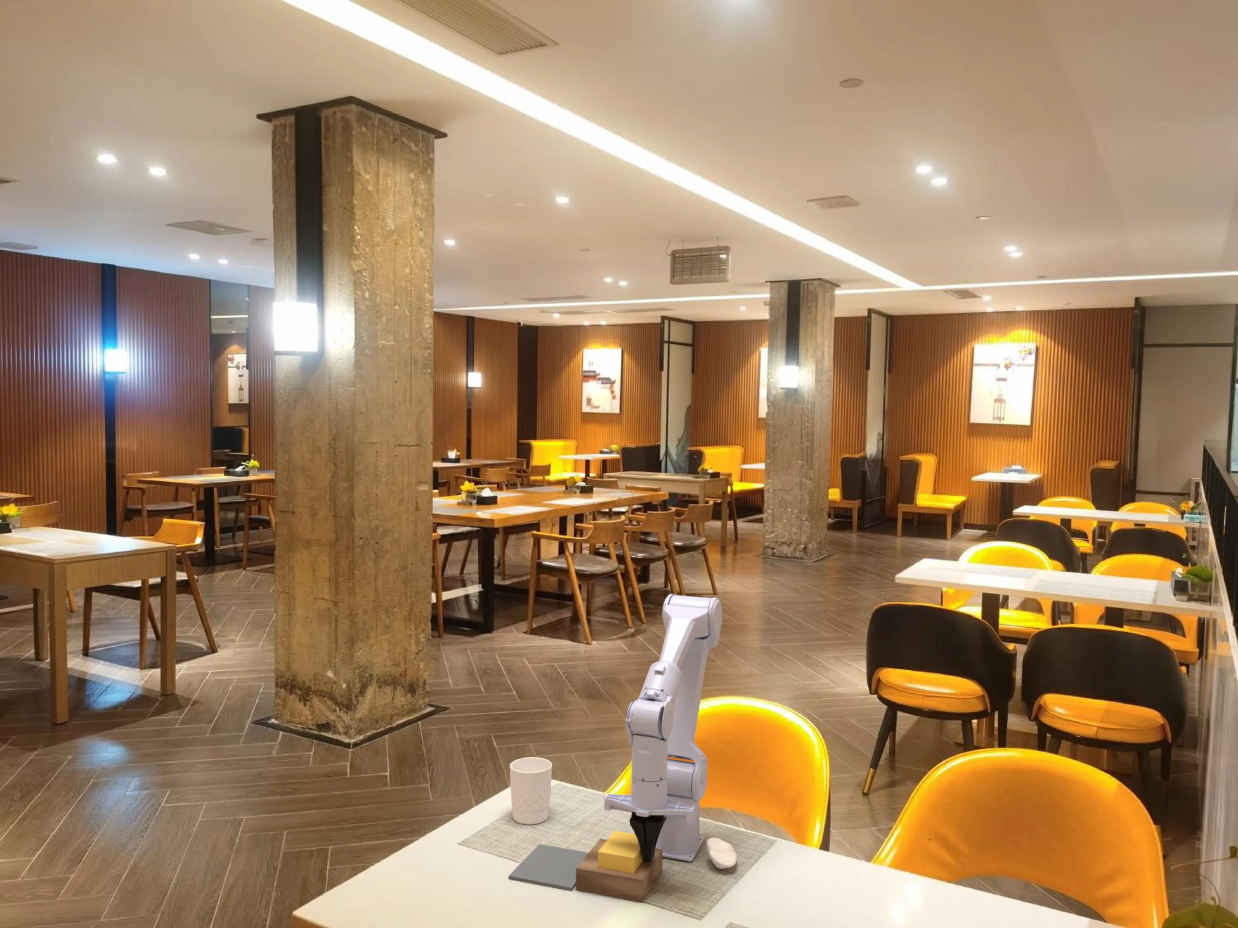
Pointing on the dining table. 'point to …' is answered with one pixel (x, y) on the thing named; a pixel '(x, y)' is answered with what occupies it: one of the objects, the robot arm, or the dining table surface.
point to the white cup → (530, 789)
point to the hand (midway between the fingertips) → (648, 858)
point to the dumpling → (721, 853)
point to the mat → (550, 867)
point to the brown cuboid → (617, 877)
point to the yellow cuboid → (620, 853)
